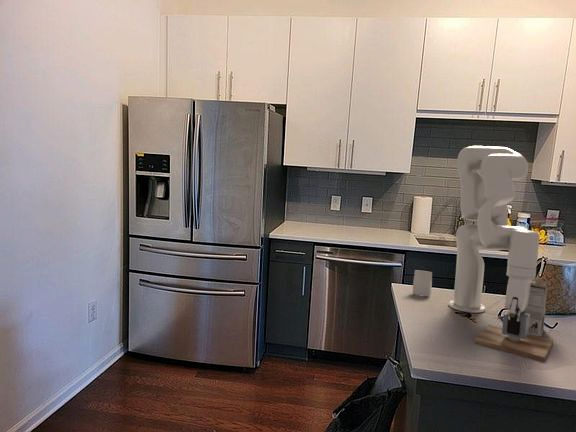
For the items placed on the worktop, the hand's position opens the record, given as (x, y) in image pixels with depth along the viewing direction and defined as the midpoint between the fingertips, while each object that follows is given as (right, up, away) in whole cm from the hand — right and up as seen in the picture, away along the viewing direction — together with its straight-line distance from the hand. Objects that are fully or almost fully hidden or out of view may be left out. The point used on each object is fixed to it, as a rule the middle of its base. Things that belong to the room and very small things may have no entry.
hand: (515, 330), depth 127 cm
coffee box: (+12, -3, +12) cm, 17 cm away
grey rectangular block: (-13, +2, +48) cm, 50 cm away
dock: (0, -4, +1) cm, 4 cm away
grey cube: (0, -1, 0) cm, 1 cm away
